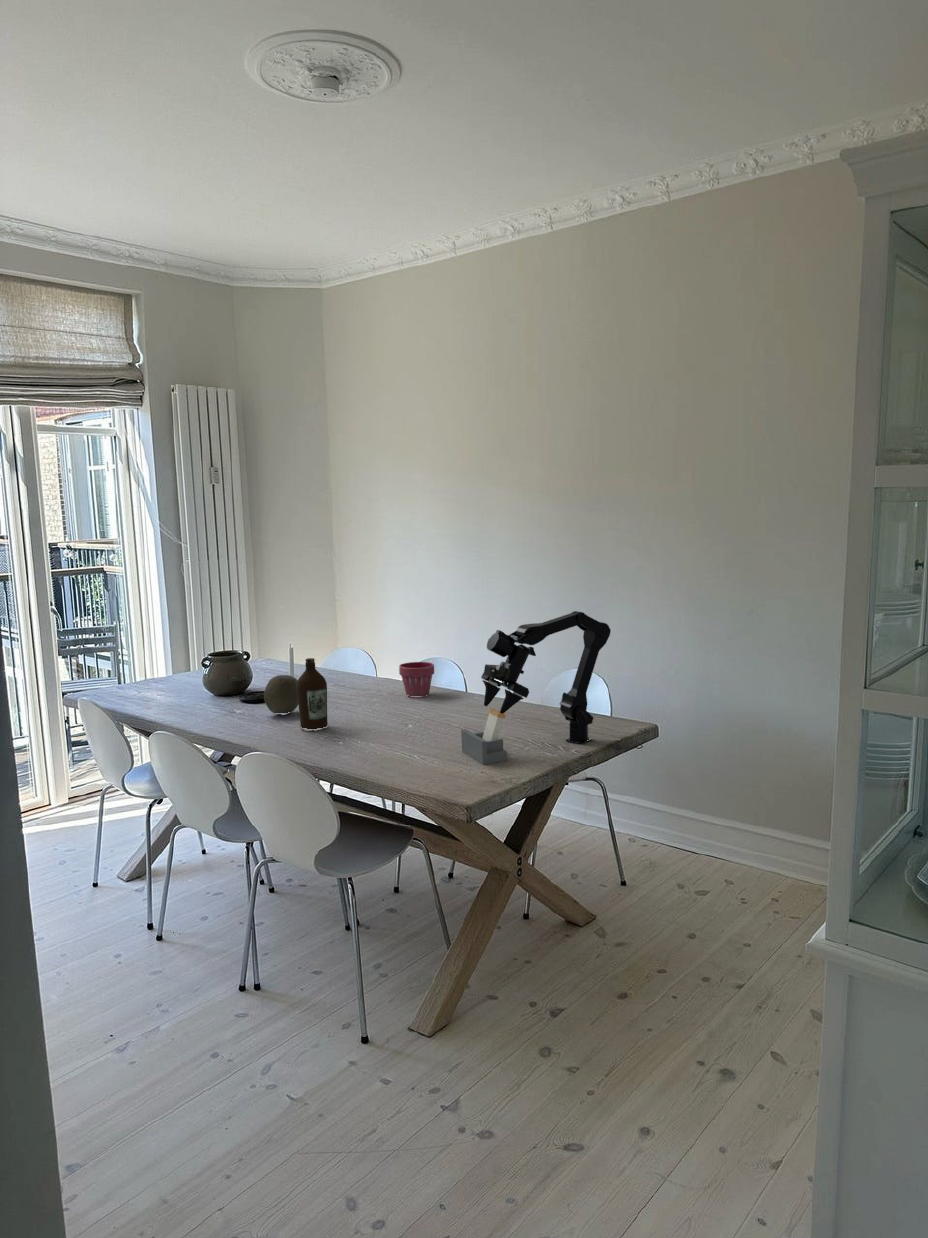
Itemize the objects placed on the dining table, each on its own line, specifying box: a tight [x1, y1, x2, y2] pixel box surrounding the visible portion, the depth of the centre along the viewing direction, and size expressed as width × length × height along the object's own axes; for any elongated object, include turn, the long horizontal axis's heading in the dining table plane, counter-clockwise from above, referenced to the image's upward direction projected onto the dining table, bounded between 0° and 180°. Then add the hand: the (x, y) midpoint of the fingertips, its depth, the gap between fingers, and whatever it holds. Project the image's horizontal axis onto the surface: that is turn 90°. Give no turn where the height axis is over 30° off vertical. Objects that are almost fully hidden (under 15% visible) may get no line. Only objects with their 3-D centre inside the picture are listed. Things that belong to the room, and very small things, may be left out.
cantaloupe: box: [263, 674, 299, 714], centre depth 330 cm, size 14×14×15 cm
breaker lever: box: [482, 708, 507, 741], centre depth 267 cm, size 3×7×10 cm, turn 23°
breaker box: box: [460, 728, 508, 765], centre depth 266 cm, size 8×16×7 cm, turn 23°
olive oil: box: [296, 657, 329, 729], centre depth 306 cm, size 11×11×25 cm
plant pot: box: [398, 661, 435, 697], centre depth 353 cm, size 14×14×13 cm
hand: (493, 709), depth 265 cm, fingers open, 9 cm apart
